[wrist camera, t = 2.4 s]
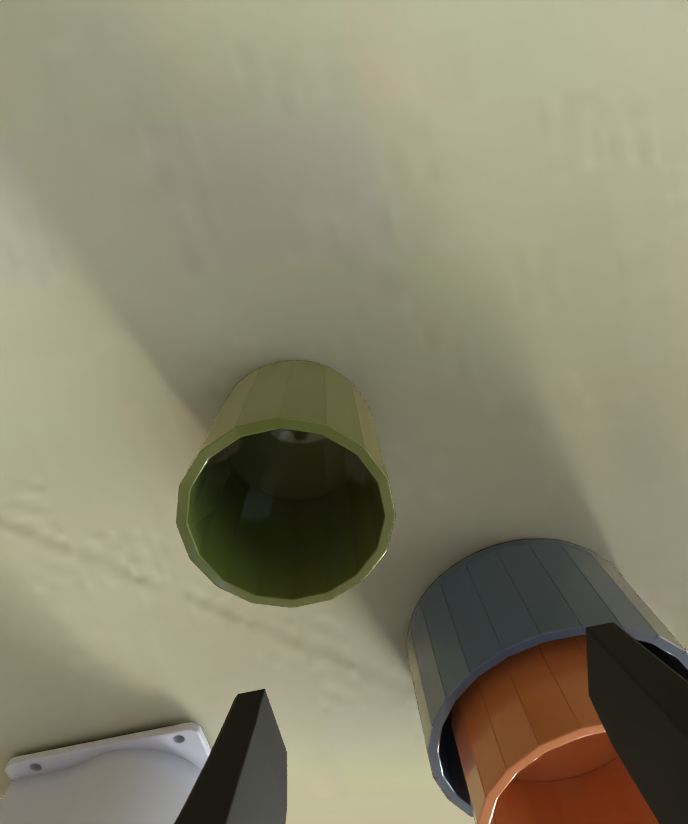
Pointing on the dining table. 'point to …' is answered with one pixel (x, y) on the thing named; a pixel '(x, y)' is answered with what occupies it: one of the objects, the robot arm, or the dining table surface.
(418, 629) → the stack big
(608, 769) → the stack mid
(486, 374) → the dining table surface
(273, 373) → the olive cup
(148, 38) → the dining table surface
